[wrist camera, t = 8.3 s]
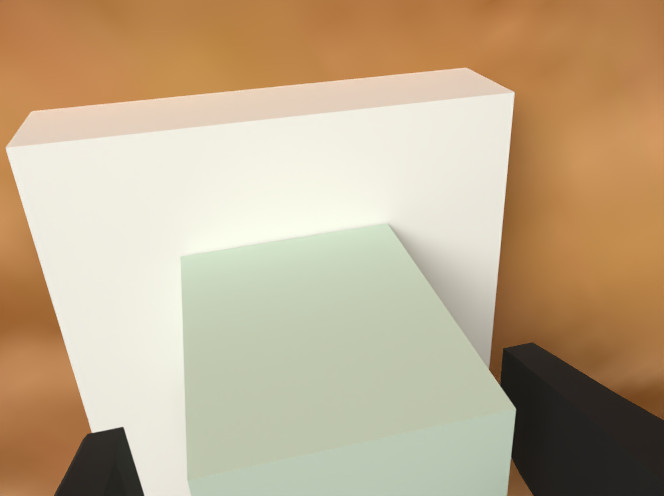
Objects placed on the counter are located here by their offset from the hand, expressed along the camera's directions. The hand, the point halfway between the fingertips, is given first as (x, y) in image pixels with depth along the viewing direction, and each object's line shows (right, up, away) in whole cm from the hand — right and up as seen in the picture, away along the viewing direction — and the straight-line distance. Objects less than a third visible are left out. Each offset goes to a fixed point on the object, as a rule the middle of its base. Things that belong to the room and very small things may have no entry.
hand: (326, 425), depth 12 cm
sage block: (-1, +2, +3) cm, 3 cm away
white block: (-1, +3, +5) cm, 6 cm away
